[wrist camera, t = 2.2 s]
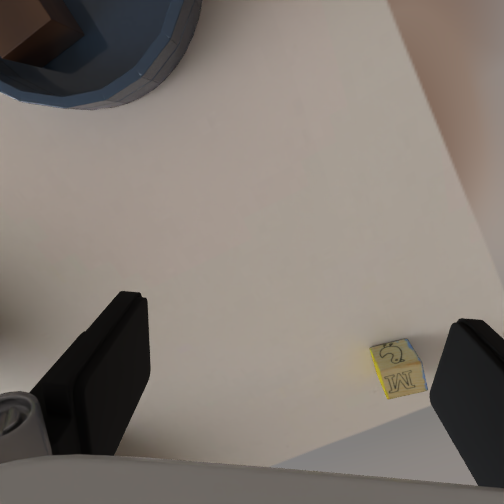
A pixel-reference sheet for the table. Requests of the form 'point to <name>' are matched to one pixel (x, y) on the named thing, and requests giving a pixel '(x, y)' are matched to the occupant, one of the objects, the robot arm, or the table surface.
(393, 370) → the alphabet block
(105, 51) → the bowl
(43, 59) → the walnut cube
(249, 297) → the table surface
